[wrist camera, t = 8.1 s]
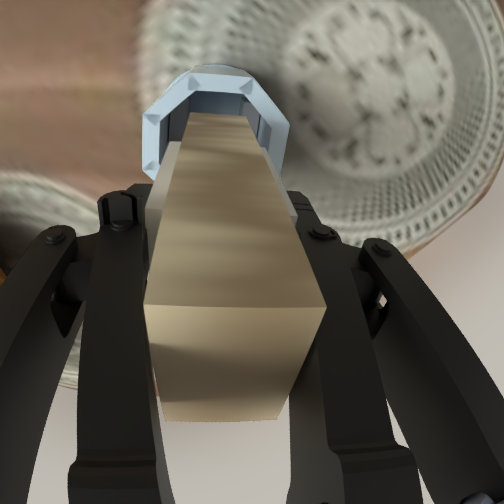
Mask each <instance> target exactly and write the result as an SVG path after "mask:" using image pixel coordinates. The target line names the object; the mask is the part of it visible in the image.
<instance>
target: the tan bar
mask: <svg viewBox="0 0 504 504" xmlns="http://www.w3.org/2000/svg"><path fill="white" fill-rule="evenodd" d="M143 305H144V313H145V319H146V326H147V332H148V339H149V345H150V350H151V356H152V362H153V367H154V372H155V377H156V382H157V387H158V392H159V397H160V401H161V406H162V410H163V414H164V419H165V421H180V422H240V421H260V420H276V419H277V418H278V416H279V414H280V412H281V410H282V408H283V405H284V403H285V401H286V399H287V397H288V395H289V393H290V391H291V389H292V387H293V384H294V382H295V380H296V378H297V376H298V374H299V371H300V369H301V367H302V365H303V362H304V360H305V358H306V356H307V353H308V351H309V349H310V347H311V344H312V342H313V340H314V337H315V335H316V332H317V330H318V328H319V325H320V323H321V320H322V318H323V316H324V313H325V311H326V308H327V306H326V304H325V301H324V299H323V296H322V293H321V291H320V288H319V286H318V283H317V281H316V278H315V276H314V273H313V270H312V268H311V265H310V263H309V260H308V258H307V256H306V253H305V251H304V248H303V246H302V243H301V241H300V238H299V236H298V234H297V231H296V229H295V226H294V224H293V222H292V219H291V217H290V214H289V212H288V210H287V207H286V205H285V203H284V200H283V198H282V196H281V193H280V191H279V189H278V186H277V184H276V182H275V180H274V177H273V175H272V173H271V171H270V168H269V166H268V164H267V162H266V159H265V157H264V155H263V153H262V150H261V148H260V146H259V144H258V142H257V139H256V137H255V135H254V133H253V131H252V129H251V126H250V124H249V122H248V120H247V118H246V116H238V115H226V114H212V113H194V112H190V116H189V119H188V122H187V125H186V128H185V132H184V135H183V138H182V142H181V145H180V149H179V152H178V155H177V159H176V163H175V166H174V170H173V173H172V177H171V181H170V185H169V189H168V192H167V196H166V200H165V204H164V208H163V213H162V217H161V221H160V225H159V229H158V234H157V238H156V243H155V247H154V252H153V257H152V262H151V267H150V272H149V277H148V282H147V287H146V292H145V298H144V303H143Z"/></svg>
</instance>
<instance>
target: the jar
mask: <svg viewBox="0 0 504 504" xmlns="http://www.w3.org/2000/svg"><path fill="white" fill-rule="evenodd" d="M190 112H194V113H212V114H226V115H238V116H246V118H247V120H248V122H249V124H250V126H251V129H252V131H253V133H254V135H255V137H256V139H257V142H258V144H259V146H260V147H265V148H266V150H267V152H268V154H269V157H270V159H271V161H272V163H273V165H274V167H275V169H276V171H277V173H278V175H279V177H280V175H281V170H282V164H283V159H284V153H285V148H286V143H287V137H288V132H289V126H290V123H289V122H288V121H287V119H286V118H285V117H284V116H283V114H282V113H281V112H280V110H279V109H278V108H277V106H276V105H275V104H274V103H273V101H272V100H271V99H270V98H269V96H268V95H267V94H266V93H265V91H264V90H263V89H262V88H261V86H260V85H259V84H258V83H257V81H256V80H255V79H254V78H253V77H252V76H251V75H249V74H248V73H247V72H246V71H244V70H243V69H237V68H234V67H231V66H228V65H221V64H209V65H202V66H195V67H194V68H192V69H190V70H188V71H186V72H185V73H183V74H182V75H180V76H179V77H178V78H176V79H175V80H174V81H173V82H172V83H171V84H170V85H169V87H168V88H167V89H166V91H165V92H164V93H163V94H162V95H161V96H160V97H159V98H158V99H157V100H156V101H155V102H154V103H153V104H152V105H151V106H150V107H149V108H148V109H147V110H146V111H145V112H144V113H143V133H142V170H143V171H144V172H145V173H146V174H147V175H148V176H149V177H150V178H151V179H152V180H154V181H155V178H156V175H157V173H158V170H159V167H160V165H161V162H162V160H163V157H164V155H165V152H166V150H167V147H168V145H169V142H170V141H175V142H182V138H183V135H184V132H185V128H186V125H187V122H188V119H189V116H190Z"/></svg>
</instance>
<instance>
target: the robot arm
mask: <svg viewBox="0 0 504 504" xmlns="http://www.w3.org/2000/svg"><path fill="white" fill-rule="evenodd" d="M180 145H181V142H175V141H170V142H169V145H168V147H167V150H166V152H165V155H164V157H163V160H162V162H161V165H160V167H159V170H158V173H157V175H156V178H155V181H154V184H134V185H132V186H131V187H129V188H128V189H127V190H126V191H125V190H120V191H113V192H110V193H107V194H105V195H103V196H102V197H100V198H99V200H98V201H97V204H98V212H99V220H100V230H99V232H97V233H95V234H91V235H86V236H80V237H76V233H75V230H74V229H73V228H72V227H70V226H66V225H56V226H52V227H49V228H48V229H46V230H44V231H42V232H41V233H40V234H39V235H38V236H37V237H36V239H35V240H34V241H33V243H32V244H31V245H30V246H29V248H28V249H27V250H26V252H25V253H24V254H23V256H22V257H21V258H20V260H19V261H18V262H17V264H16V265H15V266H14V268H13V269H12V271H11V272H10V273H9V275H8V276H7V278H6V279H5V281H4V282H3V283H2V285H1V286H0V504H27V498H28V493H29V488H30V483H31V478H32V474H33V469H34V465H35V461H36V457H37V452H38V449H39V445H40V442H41V438H42V434H43V431H44V427H45V424H46V420H47V417H48V414H49V411H50V407H51V404H52V401H53V398H54V395H55V392H56V389H57V386H58V383H59V380H60V378H61V375H62V372H63V369H64V366H65V364H66V361H67V358H68V356H69V353H70V350H71V348H72V345H73V343H74V340H75V338H76V335H77V333H78V330H79V328H80V326H81V323H82V321H83V318H84V321H83V329H82V339H81V349H80V361H79V375H78V395H77V457H76V461H75V462H74V463H73V464H72V465H71V466H70V468H69V472H68V498H69V504H175V500H174V497H173V493H172V489H171V485H170V480H169V475H168V470H167V465H166V459H165V453H164V447H163V441H162V434H161V428H160V421H159V414H158V407H157V399H156V389H155V380H154V370H153V362H152V356H151V350H150V345H149V339H148V332H147V326H146V319H145V313H144V305H143V303H144V298H145V292H146V287H147V276H148V271H149V272H150V267H151V262H152V257H153V252H154V247H155V243H156V238H157V234H158V229H159V225H160V221H161V217H162V213H163V208H164V204H165V200H166V196H167V192H168V189H169V185H170V181H171V177H172V173H173V170H174V166H175V163H176V159H177V155H178V152H179V149H180ZM260 148H261V150H262V153H263V155H264V157H265V159H266V162H267V164H268V166H269V168H270V171H271V173H272V175H273V177H274V180H275V182H276V184H277V186H278V189H279V191H280V193H281V196H282V198H283V200H284V203H285V205H286V207H287V210H288V212H289V214H290V217H291V219H292V222H293V224H294V226H295V229H296V231H297V234H298V236H299V238H300V241H301V243H302V246H303V248H304V251H305V253H306V256H307V258H308V260H309V263H310V265H311V268H312V270H313V273H314V276H315V278H316V281H317V283H318V286H319V288H320V291H321V293H322V296H323V299H324V301H325V304H326V306H327V308H326V311H325V313H324V316H323V318H322V320H321V323H320V325H319V328H318V330H317V332H316V335H315V337H314V340H313V342H312V344H311V347H310V349H309V351H308V353H307V356H306V358H305V360H304V362H303V365H302V367H301V369H300V371H299V374H298V376H297V378H296V380H295V382H294V384H293V387H292V389H291V391H290V393H289V412H290V413H289V416H290V453H291V482H290V488H289V491H288V494H287V501H286V504H423V498H422V491H421V485H420V479H419V474H418V469H419V471H420V474H421V476H422V478H423V481H424V483H425V485H426V488H427V490H428V492H429V494H430V496H431V498H432V500H433V502H434V503H435V504H504V398H503V396H502V395H501V393H500V391H499V390H498V388H497V386H496V385H495V383H494V381H493V380H492V378H491V377H490V375H489V373H488V372H487V370H486V368H485V367H484V365H483V364H482V362H481V361H480V359H479V358H478V356H477V354H476V353H475V352H474V350H473V349H472V347H471V346H470V344H469V343H468V341H467V340H466V338H465V337H464V335H463V334H462V333H461V331H460V330H459V328H458V327H457V325H456V324H455V323H454V322H453V320H452V318H451V317H450V316H449V314H448V313H447V312H446V310H445V309H444V308H443V306H442V305H441V303H440V302H439V301H438V299H437V298H436V297H435V295H434V294H433V293H432V292H431V290H430V289H429V288H428V286H427V285H426V284H425V283H424V281H423V280H422V279H421V277H420V276H419V275H418V274H417V272H416V271H415V270H414V269H413V268H412V267H411V265H410V264H409V263H408V261H407V260H406V259H405V258H404V256H403V255H402V254H401V253H400V252H399V251H398V249H397V248H396V247H394V246H393V245H392V244H390V243H389V242H388V241H386V240H384V239H380V238H368V239H366V240H365V241H364V243H363V245H362V248H358V247H354V246H350V245H347V244H344V243H342V241H341V238H340V236H339V235H338V233H337V232H336V231H335V230H334V229H332V228H330V227H328V226H326V225H323V224H322V223H321V222H320V220H319V218H318V216H317V214H316V213H315V211H314V209H313V207H312V206H311V204H310V202H309V200H308V198H307V197H305V196H304V195H303V194H302V193H300V192H297V191H286V190H285V188H284V185H283V183H282V181H281V179H280V177H279V175H278V173H277V171H276V169H275V167H274V165H273V163H272V161H271V159H270V157H269V154H268V152H267V150H266V148H265V147H260ZM382 295H384V297H385V298H386V300H387V302H386V304H385V306H384V307H382V306H381V304H380V303H379V301H380V299H381V297H382ZM386 399H387V401H388V403H389V405H390V407H391V409H392V412H393V413H394V416H395V418H396V420H397V422H398V424H399V426H400V429H401V431H402V433H403V435H404V437H405V440H406V442H407V444H408V446H409V448H407V447H404V446H401V445H398V443H397V442H396V441H395V438H394V435H393V430H392V425H391V420H390V415H389V410H388V406H387V401H386ZM417 467H418V468H417Z"/></svg>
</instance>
